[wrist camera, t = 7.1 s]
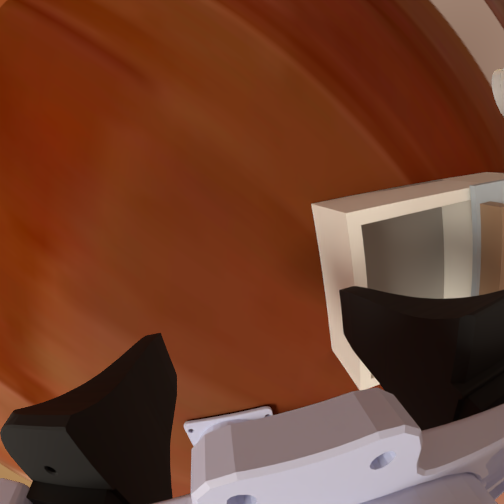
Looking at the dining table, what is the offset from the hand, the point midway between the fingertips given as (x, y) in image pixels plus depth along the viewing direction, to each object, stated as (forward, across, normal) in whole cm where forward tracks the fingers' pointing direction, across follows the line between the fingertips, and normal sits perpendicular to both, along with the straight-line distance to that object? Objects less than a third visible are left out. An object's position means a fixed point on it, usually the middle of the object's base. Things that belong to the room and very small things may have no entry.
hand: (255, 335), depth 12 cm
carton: (+10, -16, +3) cm, 19 cm away
